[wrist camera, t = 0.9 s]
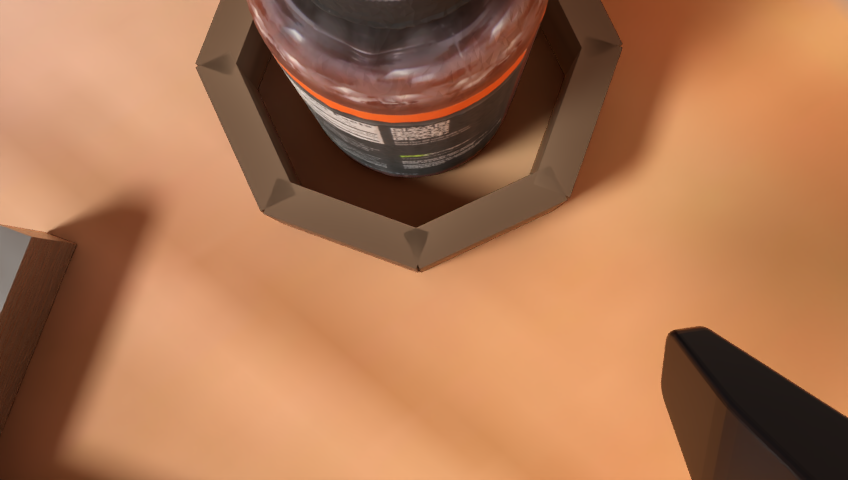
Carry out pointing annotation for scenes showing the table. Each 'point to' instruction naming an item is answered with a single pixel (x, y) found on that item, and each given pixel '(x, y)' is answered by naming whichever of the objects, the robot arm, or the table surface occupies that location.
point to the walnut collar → (381, 236)
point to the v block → (25, 300)
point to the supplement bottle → (403, 73)
